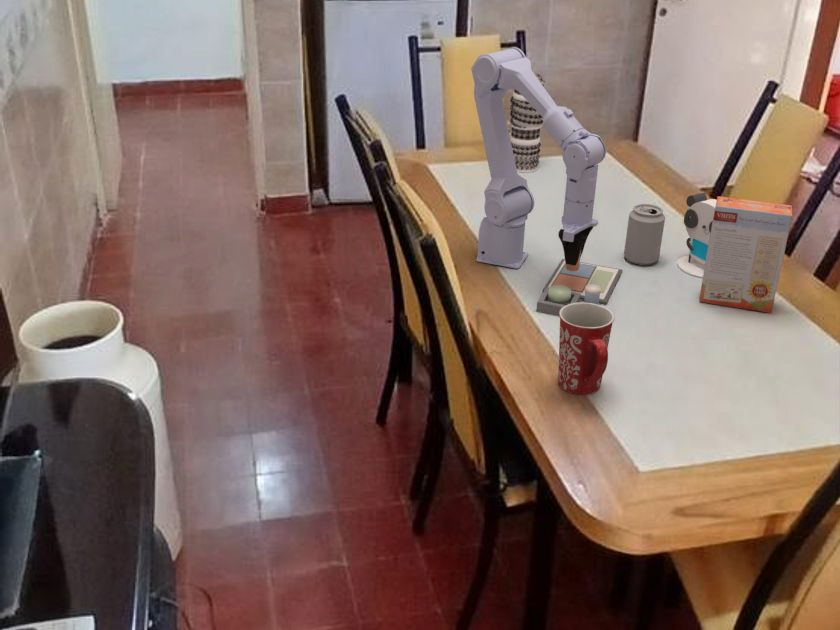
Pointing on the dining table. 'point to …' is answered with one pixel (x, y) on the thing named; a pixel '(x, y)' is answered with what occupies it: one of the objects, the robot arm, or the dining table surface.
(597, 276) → the colour zone board
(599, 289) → the slate blue marker
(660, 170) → the dining table surface
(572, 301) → the button collar
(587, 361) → the mug
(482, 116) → the robot arm
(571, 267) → the terracotta marker
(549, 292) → the button
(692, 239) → the panda figurine
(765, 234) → the cracker box
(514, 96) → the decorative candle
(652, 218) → the can
